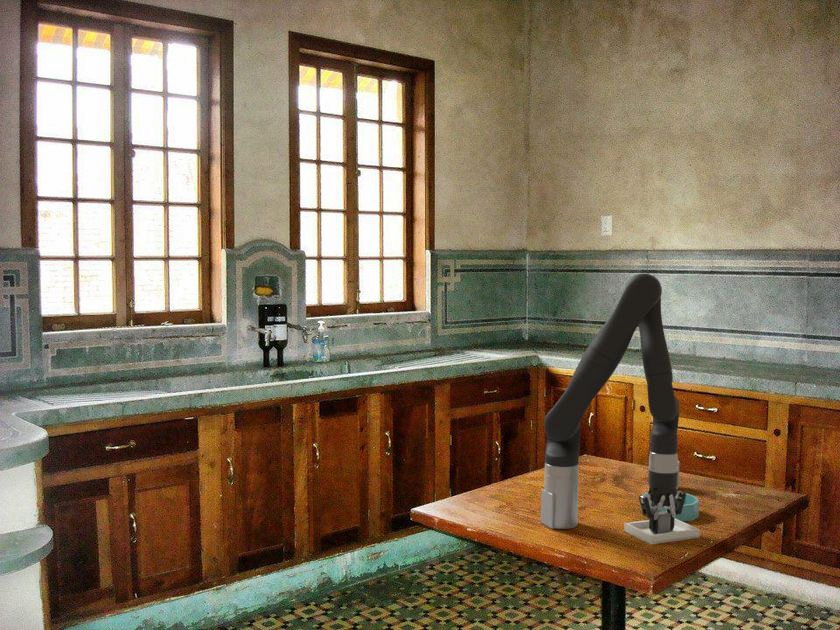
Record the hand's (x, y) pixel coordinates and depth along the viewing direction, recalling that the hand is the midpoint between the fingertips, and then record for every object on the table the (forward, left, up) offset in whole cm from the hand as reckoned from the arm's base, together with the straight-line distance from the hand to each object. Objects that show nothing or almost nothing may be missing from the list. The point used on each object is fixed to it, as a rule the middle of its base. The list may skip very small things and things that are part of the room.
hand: (661, 531), depth 231 cm
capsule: (0, 0, 0) cm, 0 cm away
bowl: (+14, +15, -1) cm, 21 cm away
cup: (+29, +37, -1) cm, 47 cm away
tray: (0, 0, -1) cm, 1 cm away
